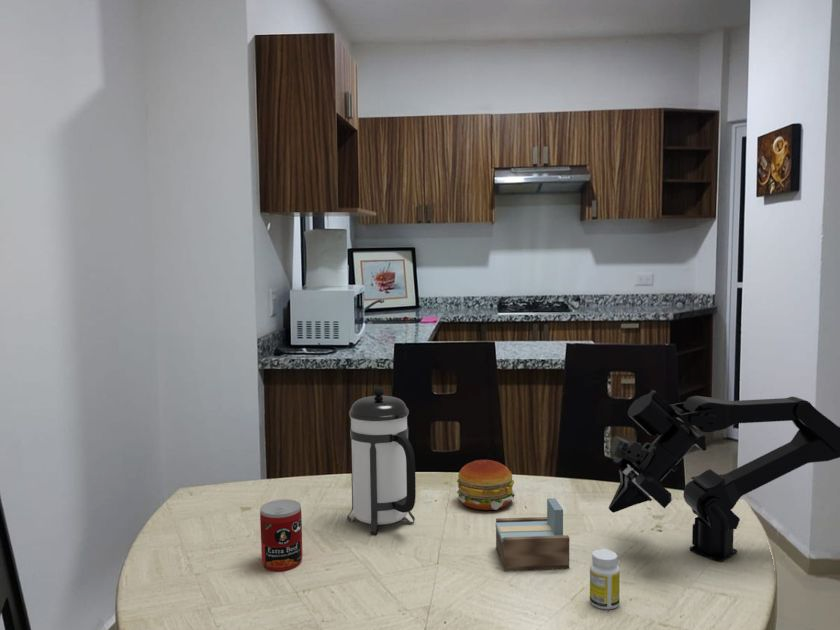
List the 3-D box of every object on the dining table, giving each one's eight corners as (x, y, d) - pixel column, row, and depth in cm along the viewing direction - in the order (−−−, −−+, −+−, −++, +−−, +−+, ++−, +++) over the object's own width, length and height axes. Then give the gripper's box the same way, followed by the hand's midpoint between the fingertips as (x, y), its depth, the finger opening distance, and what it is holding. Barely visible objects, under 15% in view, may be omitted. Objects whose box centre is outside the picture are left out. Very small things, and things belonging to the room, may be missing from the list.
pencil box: (556, 545, 136) (556, 516, 136) (569, 569, 126) (569, 537, 126) (496, 547, 136) (495, 518, 135) (504, 571, 126) (504, 539, 125)
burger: (449, 496, 165) (449, 456, 164) (502, 490, 168) (501, 451, 167) (467, 517, 152) (467, 473, 151) (524, 510, 155) (524, 467, 154)
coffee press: (334, 534, 143) (331, 393, 140) (359, 506, 159) (356, 379, 156) (415, 542, 139) (413, 396, 136) (432, 512, 154) (431, 381, 152)
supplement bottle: (614, 595, 116) (614, 547, 116) (623, 609, 112) (624, 560, 111) (586, 596, 116) (586, 548, 116) (594, 610, 112) (594, 561, 111)
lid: (554, 524, 134) (554, 497, 134) (563, 540, 127) (564, 511, 127) (495, 526, 134) (495, 498, 133) (501, 542, 127) (501, 513, 126)
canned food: (262, 574, 126) (260, 516, 125) (260, 556, 133) (259, 501, 132) (304, 568, 128) (303, 511, 127) (300, 551, 135) (299, 497, 134)
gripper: (621, 413, 140) (569, 469, 140) (651, 433, 121) (591, 497, 122) (662, 449, 140) (609, 505, 140) (697, 475, 121) (637, 539, 122)
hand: (610, 510), depth 131 cm, fingers closed
